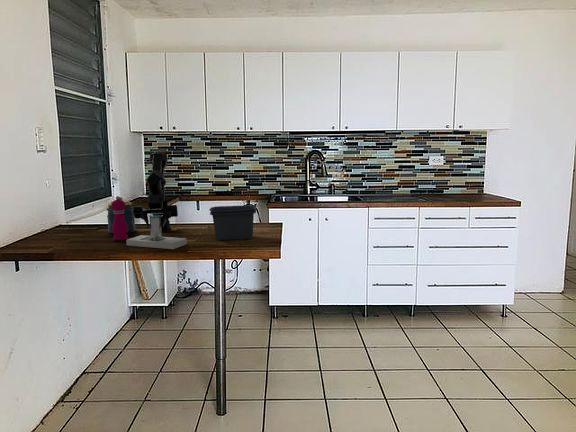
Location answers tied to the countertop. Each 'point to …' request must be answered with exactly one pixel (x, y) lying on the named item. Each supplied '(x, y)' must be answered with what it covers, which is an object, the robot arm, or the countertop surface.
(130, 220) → the canister
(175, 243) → the white flat box
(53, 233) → the countertop surface
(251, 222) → the storage bin
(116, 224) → the pepper mill
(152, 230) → the sleeve
